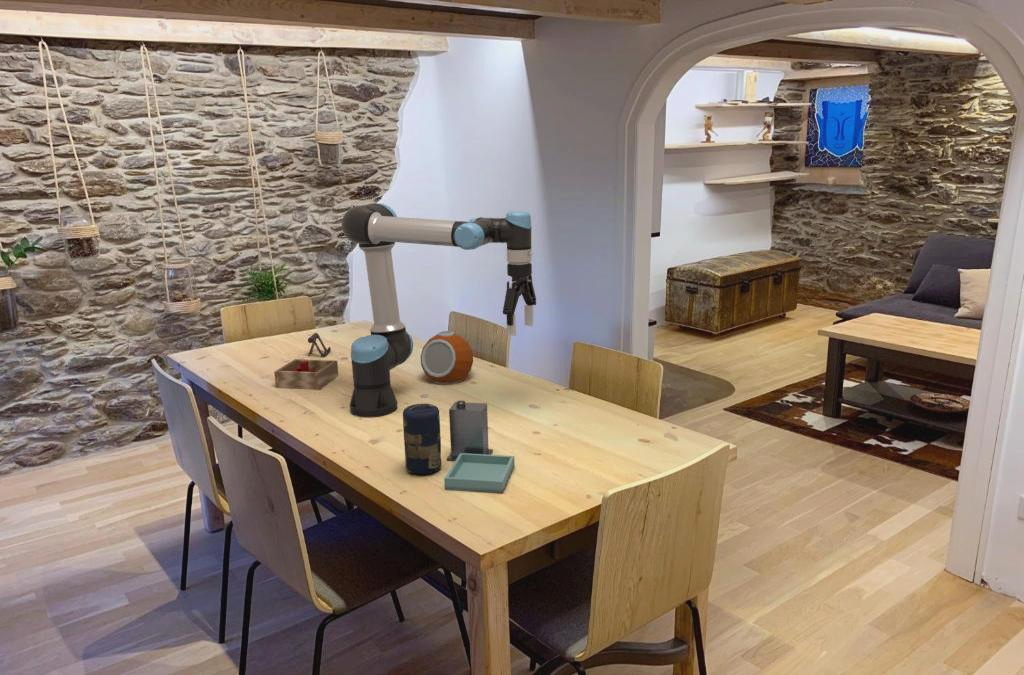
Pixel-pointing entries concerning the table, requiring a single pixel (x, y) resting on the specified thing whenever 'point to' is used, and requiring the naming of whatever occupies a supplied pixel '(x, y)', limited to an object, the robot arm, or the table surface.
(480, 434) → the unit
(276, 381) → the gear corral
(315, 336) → the portable electronic device stand
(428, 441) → the canister
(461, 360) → the alarm clock
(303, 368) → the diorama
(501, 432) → the table surface
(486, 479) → the tray
